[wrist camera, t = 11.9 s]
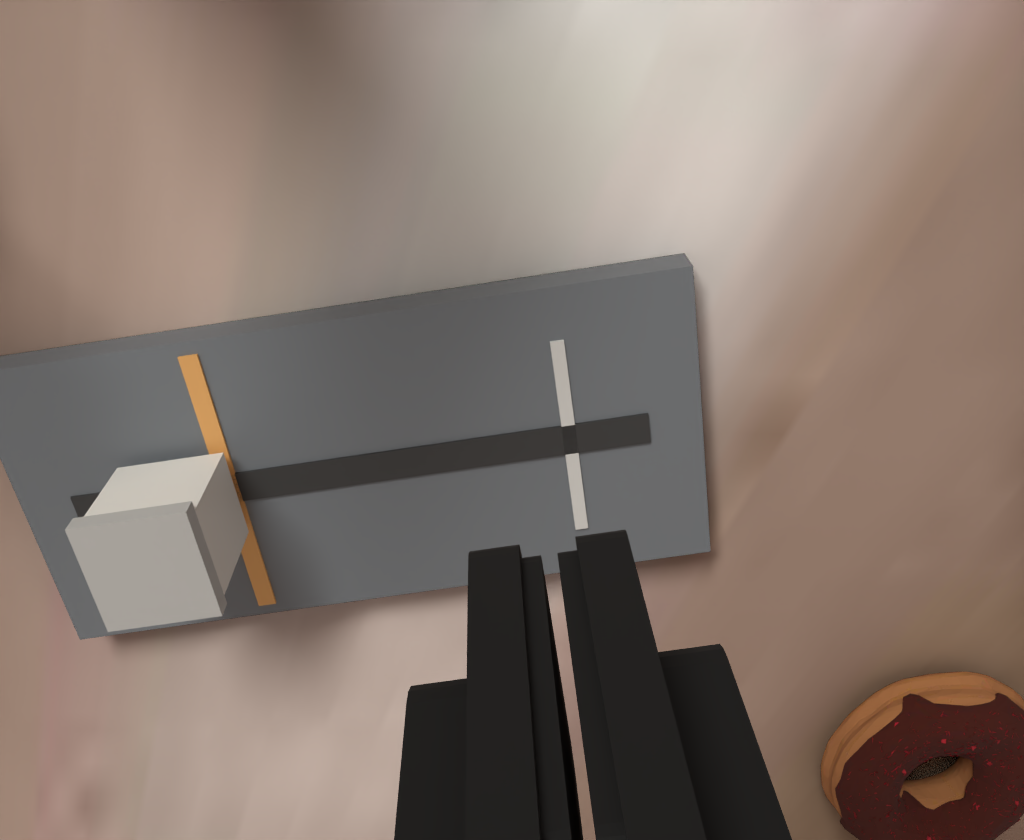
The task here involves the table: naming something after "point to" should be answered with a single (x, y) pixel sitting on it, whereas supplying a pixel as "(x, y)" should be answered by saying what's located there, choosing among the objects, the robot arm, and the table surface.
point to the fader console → (387, 432)
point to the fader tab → (161, 542)
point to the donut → (923, 736)
